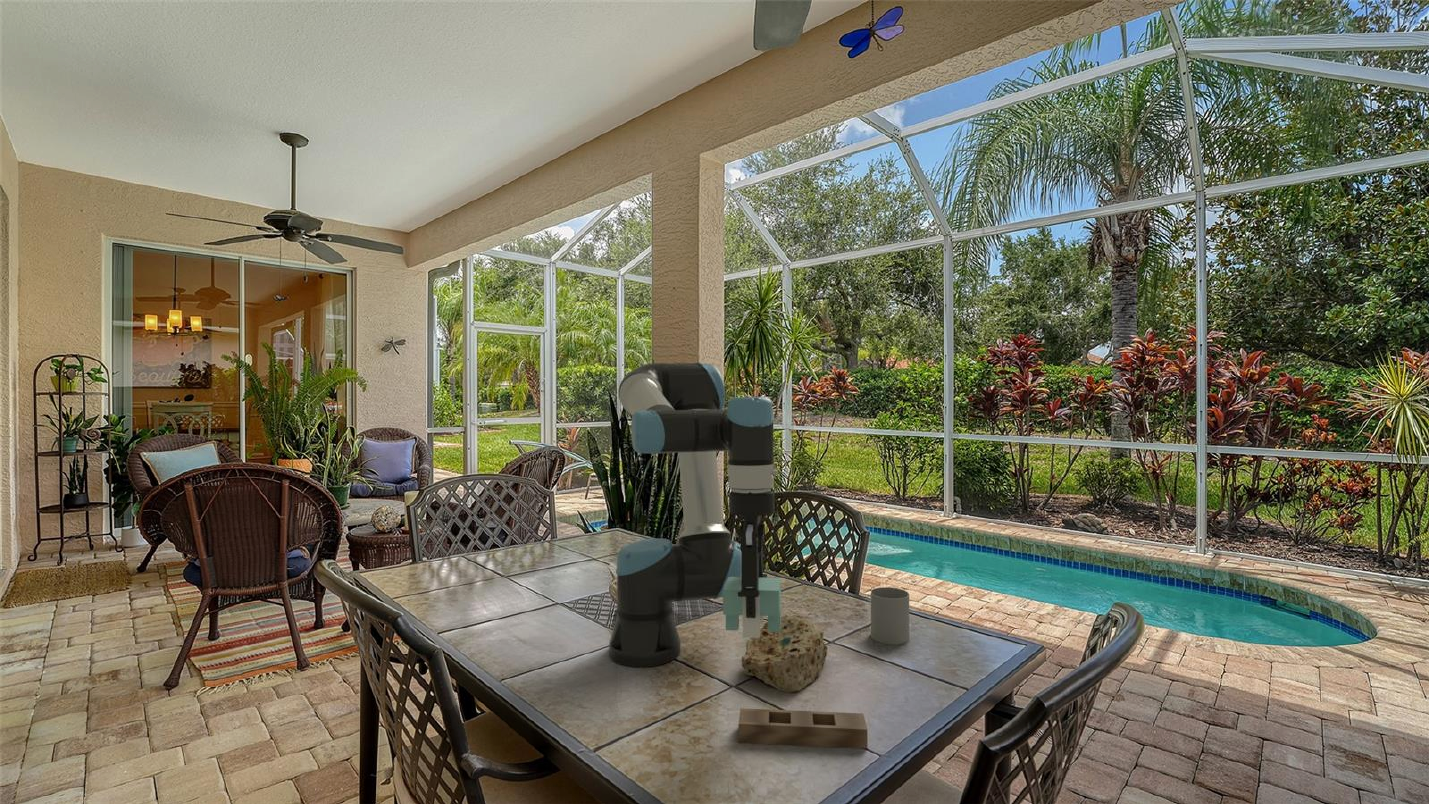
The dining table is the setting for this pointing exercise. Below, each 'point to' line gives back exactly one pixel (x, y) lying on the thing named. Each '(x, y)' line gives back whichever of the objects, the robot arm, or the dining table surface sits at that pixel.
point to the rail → (802, 728)
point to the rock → (786, 654)
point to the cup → (890, 615)
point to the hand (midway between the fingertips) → (753, 627)
